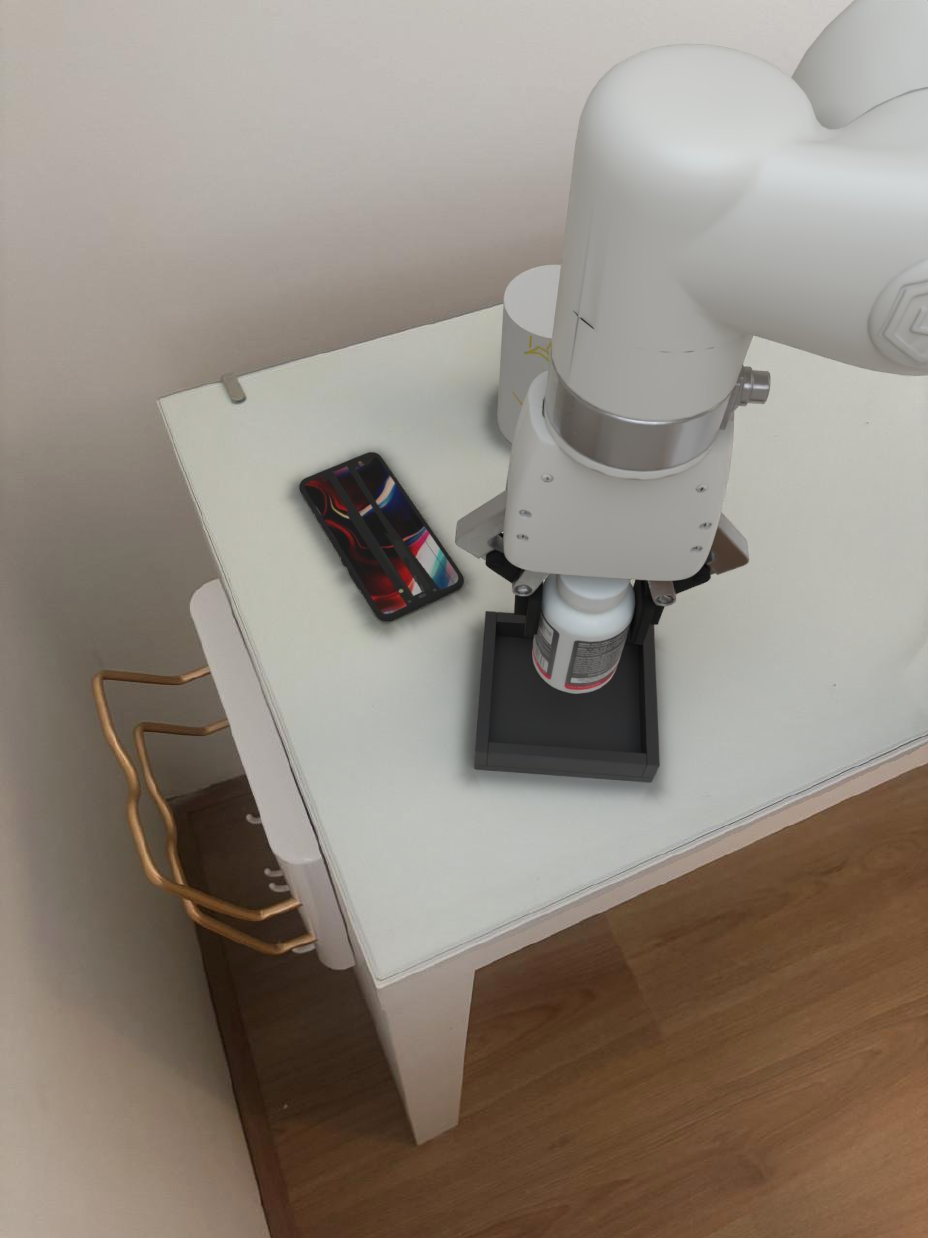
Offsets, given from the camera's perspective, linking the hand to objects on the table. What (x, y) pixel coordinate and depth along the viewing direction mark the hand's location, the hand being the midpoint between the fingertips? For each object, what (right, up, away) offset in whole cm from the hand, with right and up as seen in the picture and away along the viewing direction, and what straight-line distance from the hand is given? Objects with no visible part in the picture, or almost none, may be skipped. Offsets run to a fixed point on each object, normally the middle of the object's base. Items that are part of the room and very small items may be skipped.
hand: (583, 617), depth 53 cm
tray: (0, -6, +9) cm, 11 cm away
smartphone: (-13, +6, +17) cm, 22 cm away
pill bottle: (0, -3, +4) cm, 5 cm away
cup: (0, +17, +24) cm, 29 cm away
